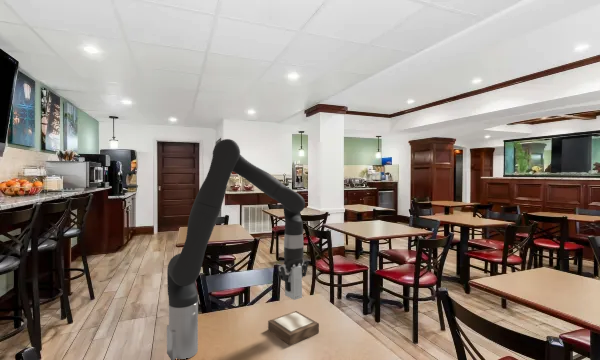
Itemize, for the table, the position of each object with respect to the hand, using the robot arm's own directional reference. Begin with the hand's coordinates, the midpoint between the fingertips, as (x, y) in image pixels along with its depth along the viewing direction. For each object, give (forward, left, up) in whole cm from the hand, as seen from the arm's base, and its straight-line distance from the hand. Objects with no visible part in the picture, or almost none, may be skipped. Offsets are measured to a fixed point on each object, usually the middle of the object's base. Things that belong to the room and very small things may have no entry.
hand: (293, 289), depth 119 cm
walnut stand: (0, 0, -16) cm, 16 cm away
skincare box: (0, 0, -3) cm, 3 cm away
